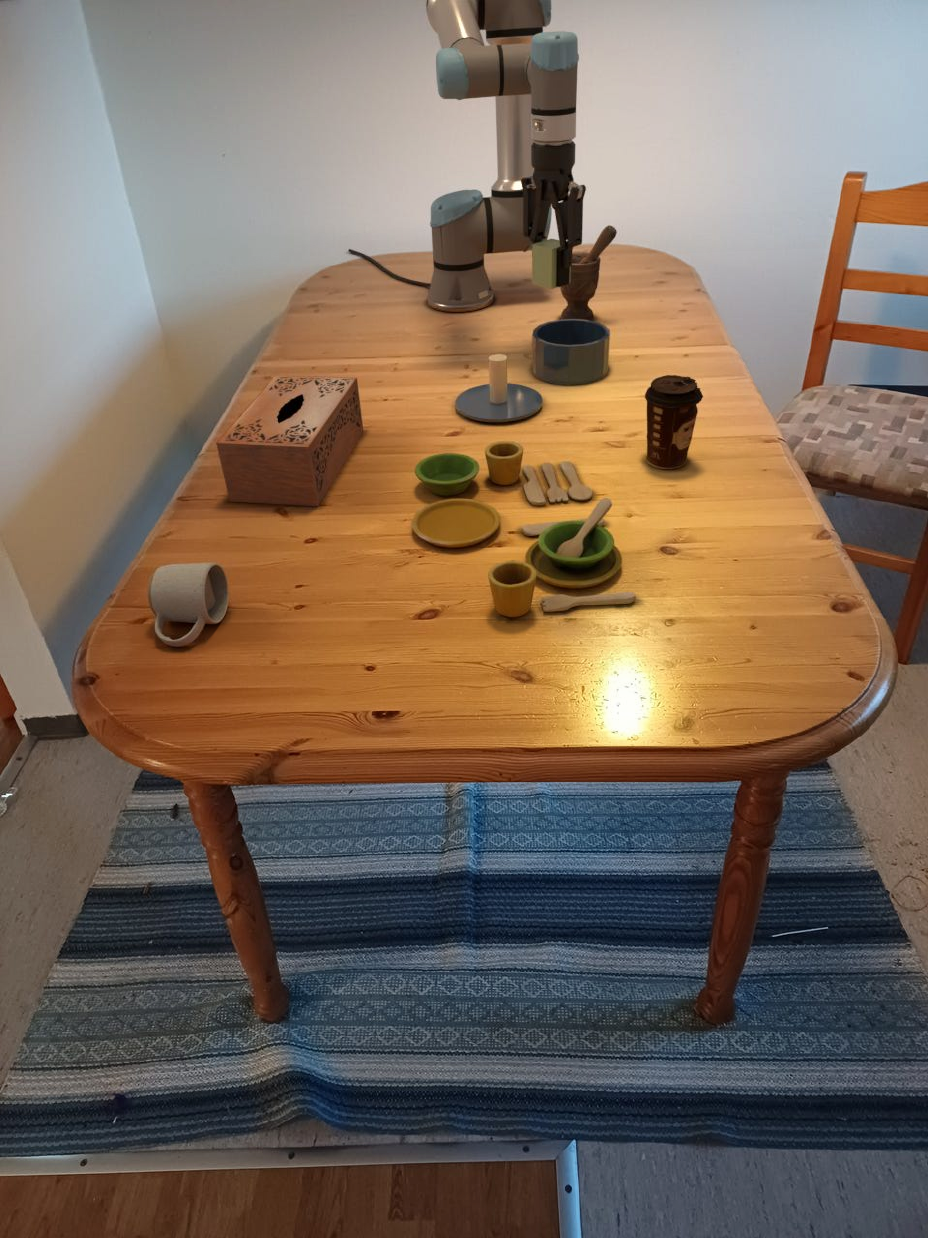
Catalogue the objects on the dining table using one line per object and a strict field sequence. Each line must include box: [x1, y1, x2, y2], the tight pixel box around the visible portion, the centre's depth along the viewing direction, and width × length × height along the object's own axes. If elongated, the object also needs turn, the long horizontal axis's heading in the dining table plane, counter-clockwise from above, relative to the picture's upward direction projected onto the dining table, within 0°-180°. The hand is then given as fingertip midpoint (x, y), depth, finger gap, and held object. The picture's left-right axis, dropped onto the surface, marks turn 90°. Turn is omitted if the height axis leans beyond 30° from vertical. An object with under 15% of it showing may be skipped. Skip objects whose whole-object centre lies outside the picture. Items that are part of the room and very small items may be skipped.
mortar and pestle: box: [559, 225, 618, 321], centre depth 191 cm, size 12×9×20 cm
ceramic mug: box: [146, 561, 230, 648], centre depth 112 cm, size 11×8×8 cm
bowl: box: [531, 319, 611, 386], centre depth 173 cm, size 15×15×8 cm
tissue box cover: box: [215, 374, 365, 507], centre depth 145 cm, size 26×14×10 cm, turn 169°
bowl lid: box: [454, 353, 544, 423], centre depth 160 cm, size 16×16×9 cm
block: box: [531, 238, 571, 290], centre depth 164 cm, size 5×5×7 cm
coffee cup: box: [644, 374, 704, 470], centre depth 140 cm, size 9×8×13 cm
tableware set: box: [411, 440, 637, 618], centre depth 126 cm, size 41×28×6 cm
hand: (551, 281), depth 165 cm, fingers closed on block, 5 cm apart
